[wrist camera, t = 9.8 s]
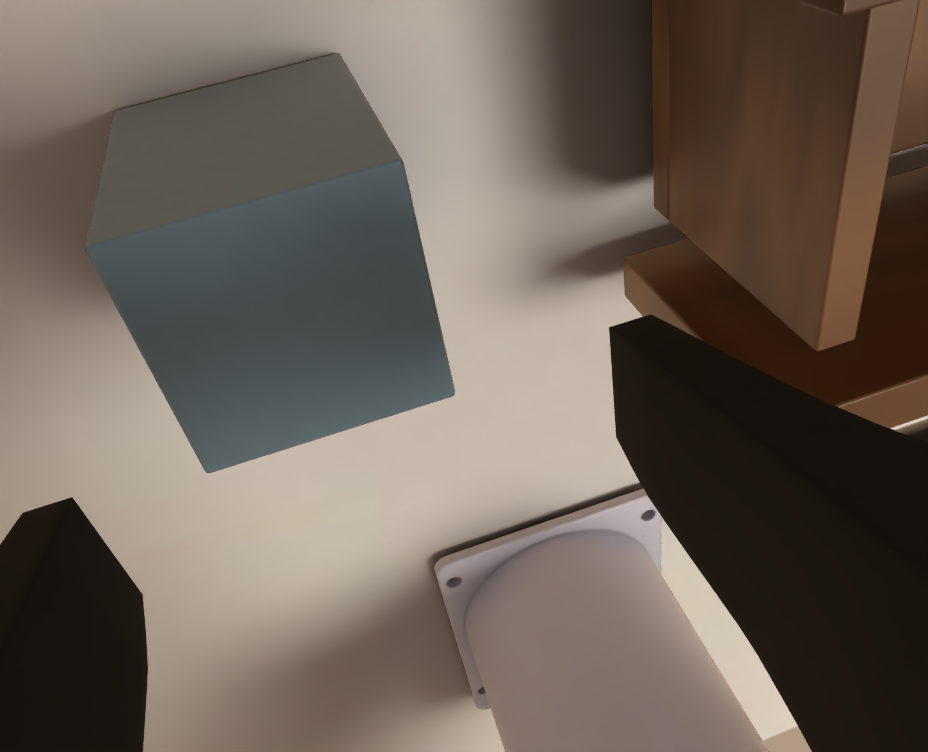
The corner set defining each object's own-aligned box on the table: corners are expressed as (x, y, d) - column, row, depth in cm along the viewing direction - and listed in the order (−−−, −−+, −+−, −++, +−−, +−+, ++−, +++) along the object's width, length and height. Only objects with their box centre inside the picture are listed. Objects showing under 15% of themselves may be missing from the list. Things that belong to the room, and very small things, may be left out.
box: (389, 247, 19) (456, 396, 14) (200, 302, 18) (206, 475, 14) (339, 52, 16) (403, 158, 11) (113, 110, 15) (81, 247, 11)
